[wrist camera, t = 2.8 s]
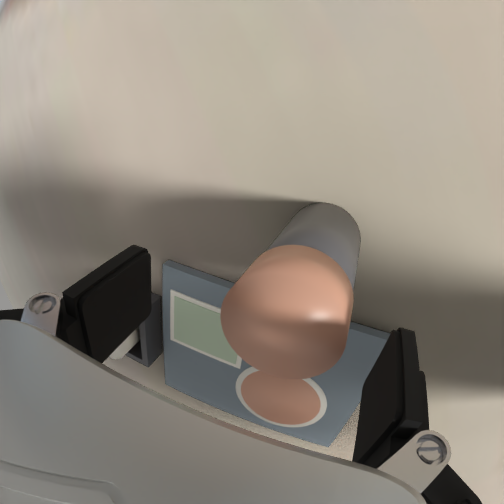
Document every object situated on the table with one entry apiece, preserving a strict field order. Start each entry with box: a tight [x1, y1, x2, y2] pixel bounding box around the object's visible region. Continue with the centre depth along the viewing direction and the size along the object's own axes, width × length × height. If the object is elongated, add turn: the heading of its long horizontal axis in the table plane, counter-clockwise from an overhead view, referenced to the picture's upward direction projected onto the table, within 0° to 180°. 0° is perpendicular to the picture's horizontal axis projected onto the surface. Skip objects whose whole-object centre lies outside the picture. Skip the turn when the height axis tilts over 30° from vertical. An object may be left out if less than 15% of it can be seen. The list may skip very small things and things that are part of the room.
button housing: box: [125, 292, 162, 367], centre depth 27 cm, size 7×7×2 cm
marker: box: [220, 203, 361, 379], centre depth 15 cm, size 5×5×9 cm
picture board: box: [163, 260, 390, 447], centre depth 24 cm, size 17×14×1 cm
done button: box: [109, 326, 140, 359], centre depth 25 cm, size 5×5×2 cm
